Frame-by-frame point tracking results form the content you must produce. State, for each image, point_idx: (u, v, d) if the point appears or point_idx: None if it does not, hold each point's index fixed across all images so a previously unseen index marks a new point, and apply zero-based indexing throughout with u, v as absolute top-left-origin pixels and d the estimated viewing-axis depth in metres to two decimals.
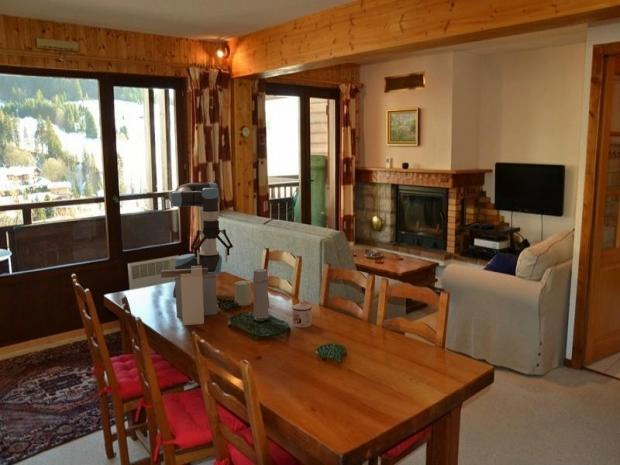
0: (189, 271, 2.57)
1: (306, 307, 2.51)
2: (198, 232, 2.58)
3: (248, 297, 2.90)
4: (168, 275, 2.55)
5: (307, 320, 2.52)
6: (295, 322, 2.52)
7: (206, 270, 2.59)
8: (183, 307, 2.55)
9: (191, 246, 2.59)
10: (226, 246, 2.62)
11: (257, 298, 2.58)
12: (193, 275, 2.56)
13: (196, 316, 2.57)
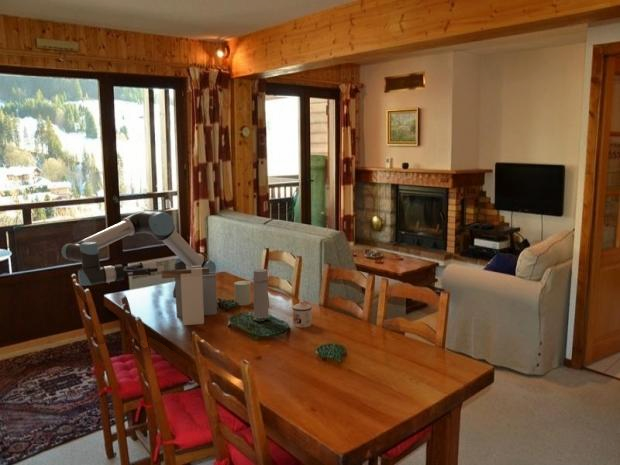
0: (190, 271, 2.57)
1: (306, 307, 2.51)
2: None
3: (248, 297, 2.90)
4: (170, 276, 2.54)
5: (307, 320, 2.52)
6: (295, 322, 2.52)
7: (207, 269, 2.60)
8: (183, 307, 2.55)
9: None
10: None
11: (257, 298, 2.58)
12: (193, 275, 2.56)
13: (196, 316, 2.57)
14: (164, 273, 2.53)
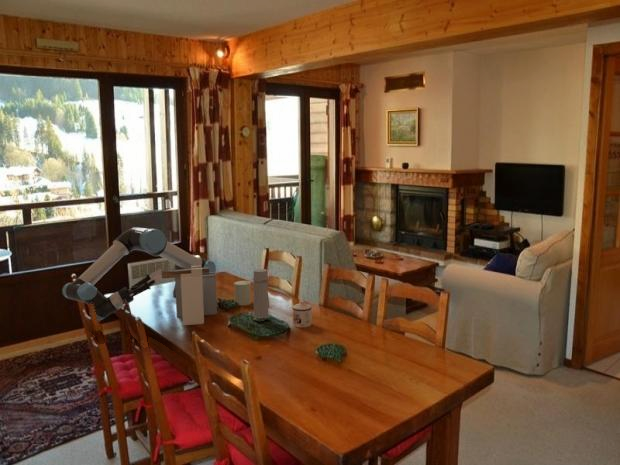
0: (190, 271, 2.57)
1: (306, 307, 2.51)
2: None
3: (248, 297, 2.90)
4: (170, 276, 2.54)
5: (307, 320, 2.52)
6: (295, 322, 2.52)
7: (207, 269, 2.60)
8: (183, 307, 2.55)
9: None
10: None
11: (257, 298, 2.58)
12: (193, 275, 2.56)
13: (196, 316, 2.57)
14: (164, 273, 2.53)
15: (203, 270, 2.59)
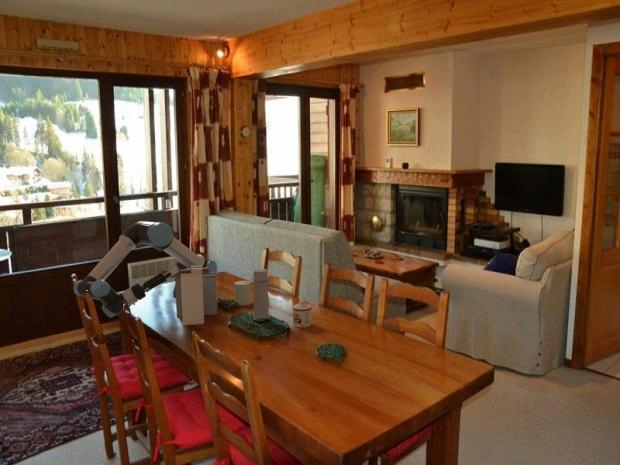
0: (190, 271, 2.57)
1: (306, 307, 2.51)
2: None
3: (248, 297, 2.90)
4: None
5: (307, 320, 2.52)
6: (295, 322, 2.52)
7: (207, 269, 2.60)
8: (183, 307, 2.55)
9: None
10: None
11: (257, 298, 2.58)
12: (193, 275, 2.56)
13: (196, 316, 2.57)
14: (164, 273, 2.53)
15: (203, 270, 2.59)
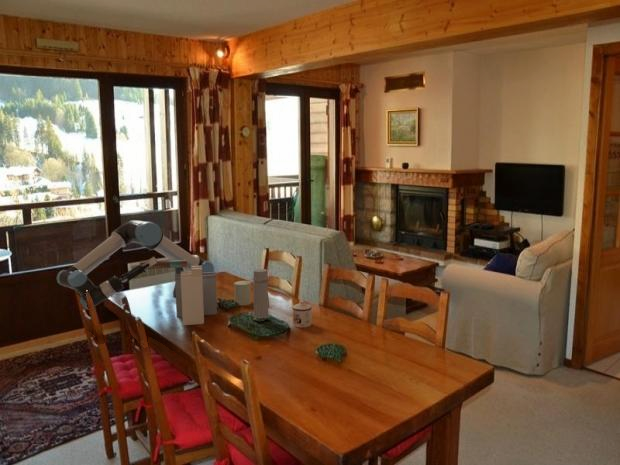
0: (168, 263, 2.59)
1: (306, 307, 2.51)
2: None
3: (248, 297, 2.90)
4: None
5: (307, 320, 2.52)
6: (295, 322, 2.52)
7: (185, 262, 2.61)
8: (183, 307, 2.55)
9: None
10: None
11: (257, 298, 2.58)
12: (193, 275, 2.56)
13: (196, 316, 2.57)
14: (141, 264, 2.56)
15: (181, 262, 2.60)
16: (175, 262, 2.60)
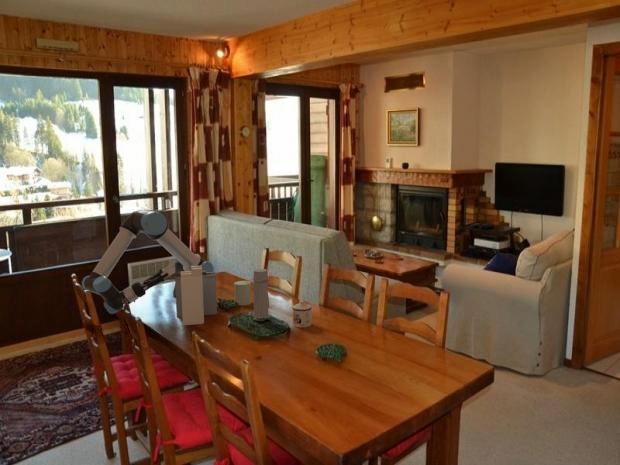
0: None
1: (306, 307, 2.51)
2: None
3: (248, 297, 2.90)
4: (168, 278, 2.67)
5: (307, 320, 2.52)
6: (295, 322, 2.52)
7: (204, 273, 2.71)
8: (183, 307, 2.55)
9: None
10: None
11: (257, 298, 2.58)
12: (193, 275, 2.56)
13: (196, 316, 2.57)
14: None
15: None
16: None
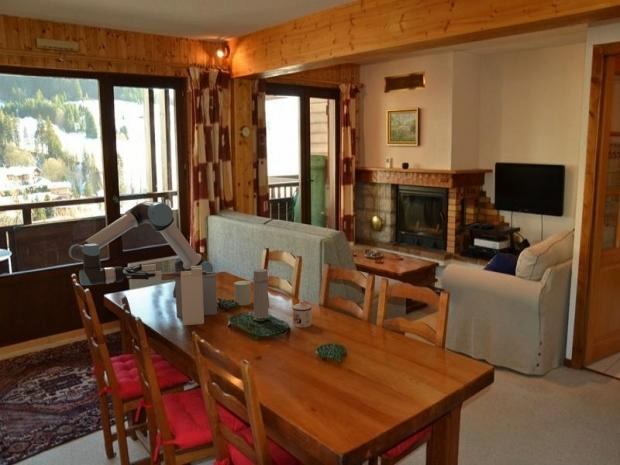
0: None
1: (306, 307, 2.51)
2: None
3: (248, 297, 2.90)
4: (168, 278, 2.67)
5: (307, 320, 2.52)
6: (295, 322, 2.52)
7: (204, 273, 2.71)
8: (183, 307, 2.55)
9: None
10: None
11: (257, 298, 2.58)
12: (193, 275, 2.56)
13: (196, 316, 2.57)
14: (163, 275, 2.67)
15: None
16: None
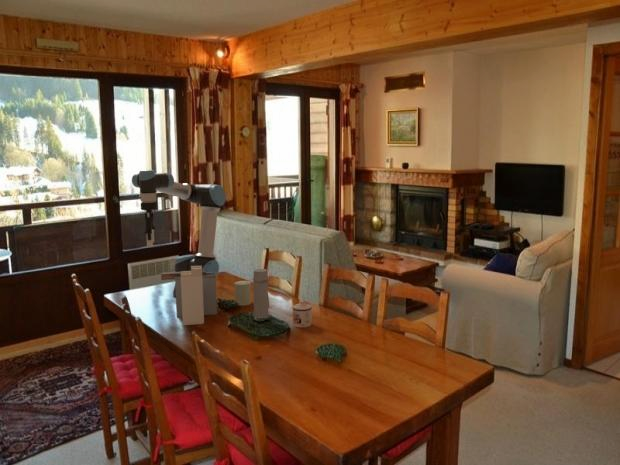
0: None
1: (306, 307, 2.51)
2: None
3: (248, 297, 2.90)
4: (168, 278, 2.68)
5: (307, 320, 2.52)
6: (295, 322, 2.52)
7: (204, 273, 2.71)
8: (183, 307, 2.55)
9: None
10: None
11: (257, 298, 2.58)
12: (193, 275, 2.56)
13: (196, 316, 2.57)
14: (163, 275, 2.67)
15: None
16: None
